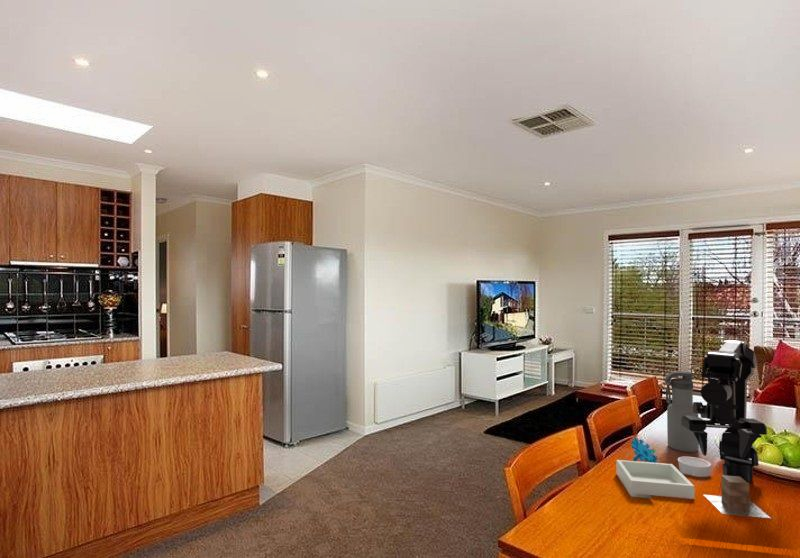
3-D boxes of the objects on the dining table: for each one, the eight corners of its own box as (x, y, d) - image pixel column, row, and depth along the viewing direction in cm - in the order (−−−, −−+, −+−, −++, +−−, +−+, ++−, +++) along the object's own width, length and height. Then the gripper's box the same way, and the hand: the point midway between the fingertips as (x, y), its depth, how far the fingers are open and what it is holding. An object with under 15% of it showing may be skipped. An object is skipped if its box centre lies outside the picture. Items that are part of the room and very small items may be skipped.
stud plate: (747, 502, 124) (747, 487, 124) (771, 522, 113) (771, 505, 113) (703, 498, 126) (702, 483, 126) (722, 517, 115) (721, 501, 115)
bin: (672, 478, 139) (672, 464, 139) (694, 502, 123) (694, 486, 123) (616, 474, 142) (616, 459, 142) (631, 496, 127) (631, 480, 127)
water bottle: (668, 450, 164) (667, 373, 164) (664, 442, 173) (663, 369, 173) (701, 454, 160) (700, 375, 160) (695, 445, 169) (694, 371, 169)
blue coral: (647, 465, 145) (628, 437, 152) (633, 474, 148) (616, 446, 155) (667, 464, 150) (648, 436, 157) (654, 472, 153) (636, 445, 160)
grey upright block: (740, 502, 121) (740, 476, 121) (749, 510, 117) (749, 483, 117) (721, 500, 122) (721, 475, 122) (730, 508, 118) (729, 481, 118)
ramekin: (700, 483, 136) (700, 468, 136) (671, 472, 144) (671, 459, 144) (717, 477, 140) (717, 463, 140) (688, 467, 148) (687, 454, 148)
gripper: (743, 393, 129) (744, 448, 128) (672, 390, 132) (673, 444, 131) (767, 403, 118) (768, 463, 117) (690, 399, 121) (690, 458, 120)
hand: (723, 456), depth 122 cm, fingers open, 9 cm apart
